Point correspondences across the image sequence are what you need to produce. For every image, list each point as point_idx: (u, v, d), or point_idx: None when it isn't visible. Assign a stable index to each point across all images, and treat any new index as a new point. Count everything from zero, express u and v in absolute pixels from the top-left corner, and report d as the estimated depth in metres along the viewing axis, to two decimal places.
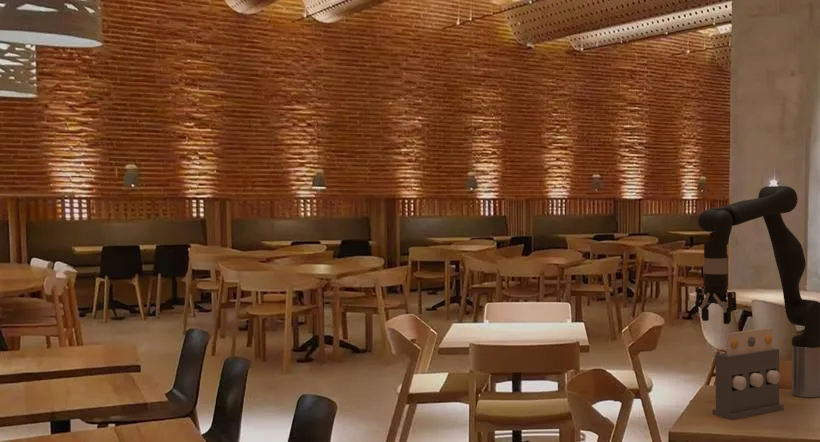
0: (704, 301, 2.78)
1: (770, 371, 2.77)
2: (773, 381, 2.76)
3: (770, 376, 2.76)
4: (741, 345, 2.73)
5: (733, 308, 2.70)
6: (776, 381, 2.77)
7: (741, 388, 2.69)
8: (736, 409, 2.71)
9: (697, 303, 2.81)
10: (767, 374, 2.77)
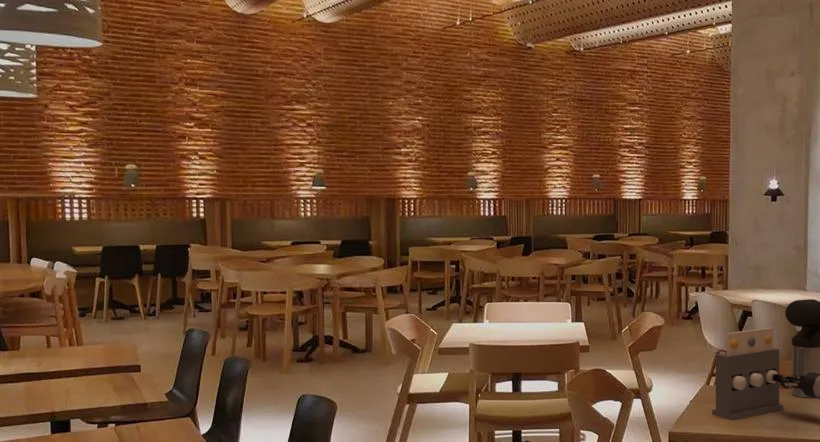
0: None
1: (768, 371, 2.78)
2: (771, 381, 2.77)
3: (768, 376, 2.77)
4: (741, 345, 2.73)
5: None
6: (774, 381, 2.78)
7: (741, 388, 2.69)
8: (736, 409, 2.71)
9: None
10: None
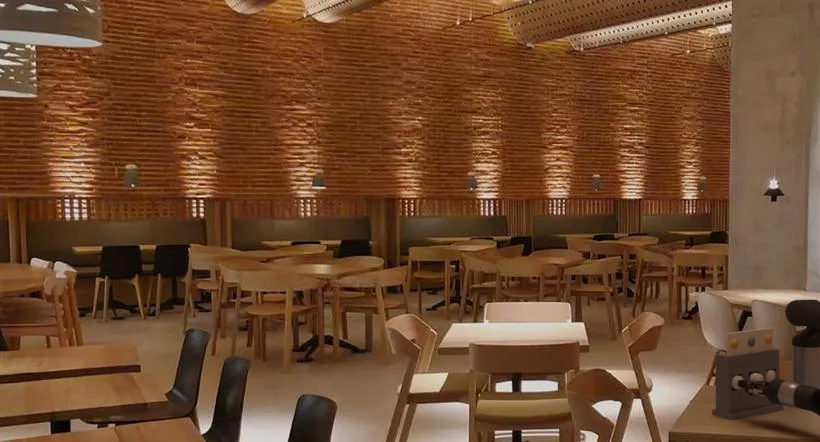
0: None
1: (766, 370, 2.79)
2: (769, 380, 2.78)
3: (766, 375, 2.78)
4: (741, 345, 2.73)
5: None
6: None
7: (739, 387, 2.70)
8: (736, 409, 2.71)
9: None
10: None
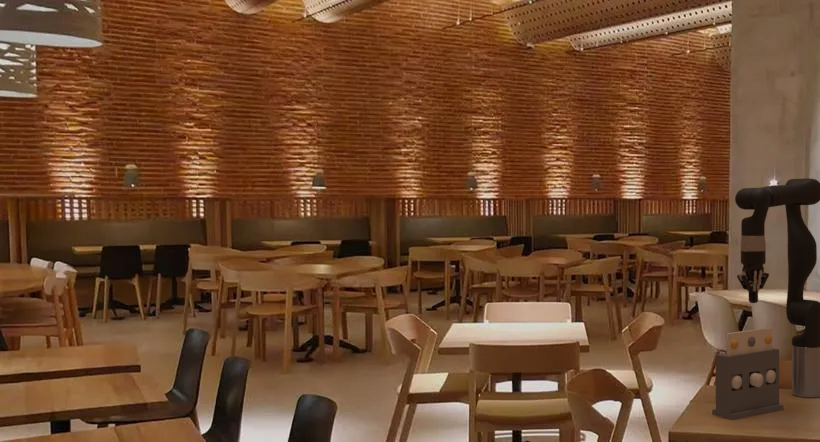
0: (755, 281, 2.77)
1: (766, 370, 2.79)
2: (769, 380, 2.78)
3: (766, 375, 2.78)
4: (741, 345, 2.73)
5: None
6: (772, 380, 2.78)
7: (737, 387, 2.70)
8: (736, 409, 2.71)
9: (750, 286, 2.76)
10: None
